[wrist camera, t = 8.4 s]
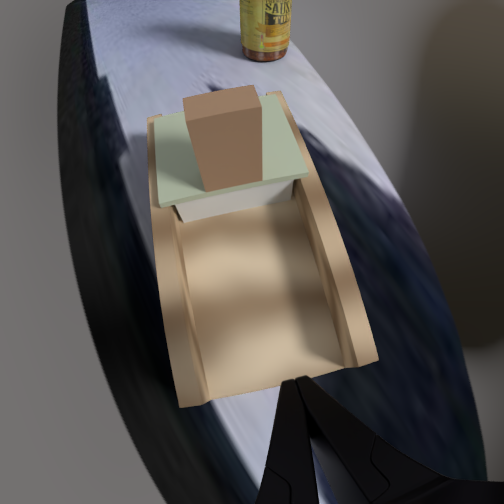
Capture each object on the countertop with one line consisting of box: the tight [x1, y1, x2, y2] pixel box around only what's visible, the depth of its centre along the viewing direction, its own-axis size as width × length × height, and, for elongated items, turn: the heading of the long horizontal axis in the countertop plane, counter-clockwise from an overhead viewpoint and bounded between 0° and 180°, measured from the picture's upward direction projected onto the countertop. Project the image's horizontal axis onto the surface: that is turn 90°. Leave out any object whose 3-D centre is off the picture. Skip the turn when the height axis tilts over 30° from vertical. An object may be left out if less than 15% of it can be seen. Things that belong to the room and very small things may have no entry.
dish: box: [175, 180, 294, 223], centre depth 26 cm, size 9×9×3 cm
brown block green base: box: [154, 85, 309, 208], centre depth 20 cm, size 9×11×8 cm
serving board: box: [147, 91, 379, 408], centre depth 24 cm, size 24×14×4 cm, turn 13°
